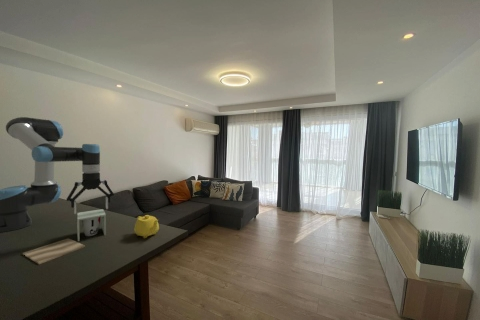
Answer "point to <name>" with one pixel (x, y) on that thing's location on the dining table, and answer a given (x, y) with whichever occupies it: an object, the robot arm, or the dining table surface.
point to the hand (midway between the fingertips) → (91, 210)
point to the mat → (53, 250)
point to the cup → (91, 226)
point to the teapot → (146, 226)
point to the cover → (92, 215)
